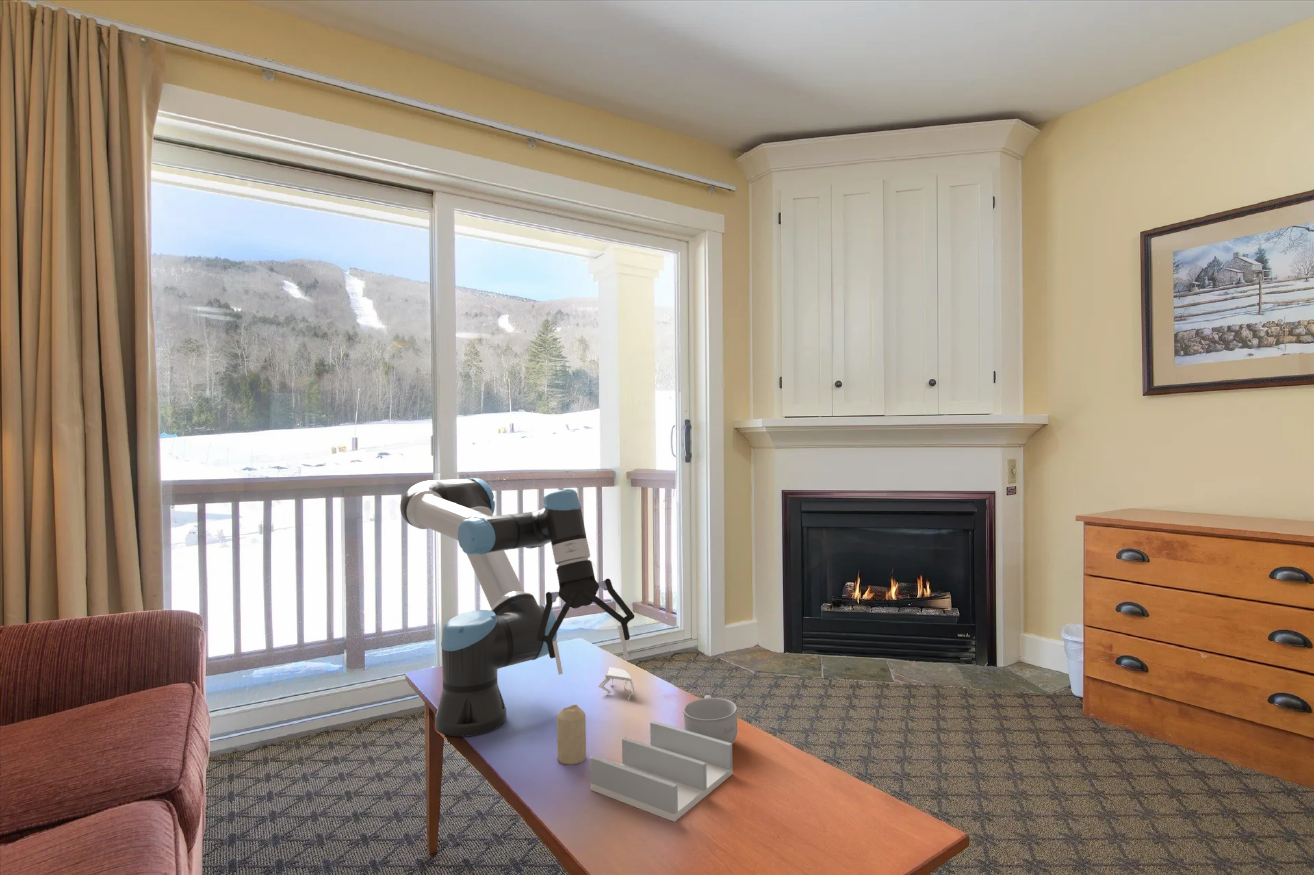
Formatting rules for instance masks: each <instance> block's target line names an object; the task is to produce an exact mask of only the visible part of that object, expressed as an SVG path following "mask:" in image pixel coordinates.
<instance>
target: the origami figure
mask: <svg viewBox="0 0 1314 875" xmlns="http://www.w3.org/2000/svg"><path fill="white" fill-rule="evenodd" d="M604 676H605V678H604V679H603V681H602V682H600V684H599V685H598V688H600V689H602V690H603V691H605V692H607V693H605V694H603V696H605V697H606V696H608V695H609V694H611V693H612V691H611V690H609V689H608V688H607V687H605V686H606V684H608V682H609V681H610V686H611V687H613V685H614V684H613V683H614V680H621V681H624V684H623V689H624V690H627V688H626V686H627V684H628V682H630V689H631V690H630V694H629V696H628V697H627V700H628V701H629V700H630V699H631V697H632V695H633V694H634V693H635V686H634V682H633V679H632V677H631V674H630V673H629V672H628V671H626V669H621V668H617V667H612V666H609V667H608V672H607V674H605V675H604Z"/></svg>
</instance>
